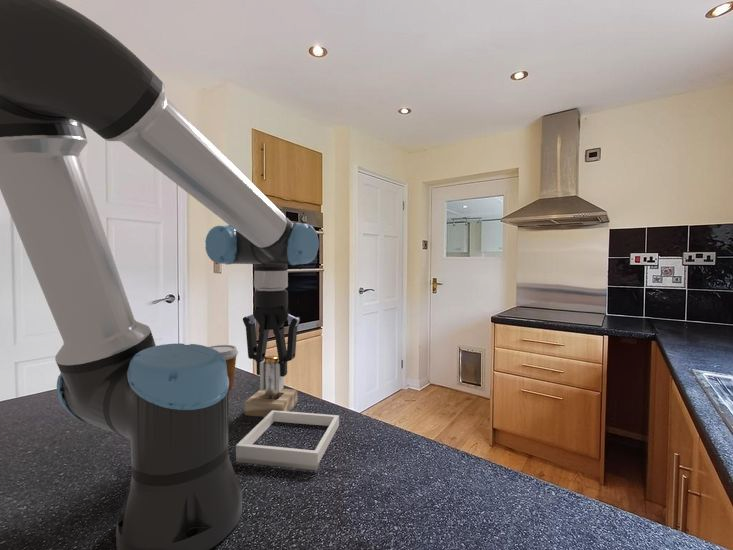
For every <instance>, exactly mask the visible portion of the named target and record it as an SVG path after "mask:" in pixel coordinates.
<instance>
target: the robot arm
mask: <svg viewBox="0 0 733 550" xmlns="http://www.w3.org/2000/svg"><path fill="white" fill-rule="evenodd" d="M165 88H166V87H165V83H164V82H163V80H161V79H160V78H159V76H157V75H156V74H155V72H153V71H152V70H151V69H150V68H149V66H147V65H146V64H145V63H144V61H142V60H141V58H139V57H138V56H137V55H135V53H134V52H133V51H131V49H129V48H128V47H127V46H126V45H124V44H123V43H122V42H121V41H120V40H119V39H118V38H116V37H115V36H113V35H112V34H111V33H110V32H108V31H107V30H105V29H104V28H103V27H102V26H100V24H98V23H96V22H94V21H93V20H91V19H89V18H88V17H87V16H85V15H84V14H82V13H80V12H79V11H77V10H75V9H73V8H72V7H70V6H68V5H66V4H65V3H63V2H61V1H59V0H0V192H1V195H2V197H3V199H4V202H5V205H6V206H7V209H8V212H9V214H10V217H11V218H12V222H13V224H14V226H15V228H16V231H17V233H18V236H19V238H20V240H21V244H22V245H23V248H24V250H25V252H26V255H27V257H28V260H29V261H30V265H31V267H32V269H33V271H34V274H35V277H36V279H37V281H38V284H39V286H40V288H41V291H42V294H43V296H44V298H45V300H46V303H47V305H48V307H49V310H50V312H51V315H52V317H53V320H54V321H55V324H56V327H57V329H58V332H59V335H60V336H61V339H62V341H63V343H62V344H63V345H62V346H61V347H60V349H59V350H58V351H57V353H56V355H55V357H54V359H55V363H56V365H57V367H58V370H59V372H60V374H59V375H58V376H57V380H56V393H57V397H58V400H59V403H60V404H61V406H62V407H63V409H65V410H66V411H67V412H68V413H69V414H70V415H71V416H72V417H74V419H77V420H79V421H80V422H83V423H84V424H88V425H90V426H95V427H98V428H101V429H102V430H106V431H109V432H112V433H114V434H117V435H120V436H123V437H124V438H127V439H129V441H130V463H131V480H130V483H129V486H128V488H127V492H126V494H125V495H126V496H125V497H124V501H123V503H122V504H123V505H122V508H121V511H120V514H119V517H118V519H117V522H116V527H115V539H116V540H115V542H116V543H115V544H116V546H115V547H116V550H211V549H213V548H214V547H215V546H217V545H218V544H220V543H221V542H222V541H224V539H225V538H227V537H228V535H230V534H231V533H232V532H233V530H234V528H236V526H237V525H238V523H239V521H240V519H241V516H242V514H243V513H242V512H243V492H242V488H241V485H240V483H239V481H238V478H237V475H236V472H235V469H234V467H233V463H232V462H231V459H230V456H229V405H230V403H229V402H230V401H229V395H230V394H229V392H230V391H229V378H228V376H227V365H226V361H225V358H224V357H223V355H222V354H221V353H220V352H218V351H217V350H215V349H213V348H210V346H206V345H202V344H197V343H196V344H195V343H190V344H185V343H179V342H178V343H168V344H165V343H164V344H159V345H156V342H155V338H154V336H153V334H152V330H151V328H150V326H149V325H148V324H144V323H142V322H139V321H137V320H136V319H135V318H134V314H133V311H132V309H131V305H130V303H129V300H128V296H127V293H126V291H125V288H124V285H123V282H122V279H121V276H120V273H119V270H118V267H117V264H116V261H115V259H114V256H113V254H112V251H111V247H110V245H109V244H110V243H109V242H108V239H107V235H106V233H105V229H104V226H103V224H102V221H101V218H100V216H99V212H98V209H97V206H96V203H95V200H94V197H93V195H92V191H91V189H90V185H89V182H88V180H87V177H86V174H85V171H84V168H83V166H82V162H81V160H80V158H79V157H80V153H81V152H82V151H83V149H84V148H85V147H86V146H87V144H88V139H87V135H86V133H85V130H84V127H83V125H84V126H86V127H87V128H89V129H91V130H92V131H93V132H94V133H96V134H97V135H98V136H99V137H101V138H102V139H104V140H105V141H107V142H122V143H123V144H124V145H126V146H127V147H128V148H129V149H131V150H132V151H133V152H135V153H136V154H137V155H139V156H140V158H142V159H144V160H145V161H146V162H148V163H149V164H150V165H151V166H153V168H155V169H157V170H158V171H159V172H161V174H163V175H164V176H166V177H167V178H168V179H170V181H172V182H173V183H175V184H176V185H177V186H178V187H180V188H181V189H182V190H184V191H185V192H186V193H187V194H188V195H190V196H191V197H193V198H194V199H195V200H196V201H197V202H199V203H200V204H201V205H203V206H204V207H206V209H208V210H209V211H211V212H212V213H213V214H214V215H216V217H218V218H220V220H222V221H224V222H225V223H226V224H227V225H215V226H213V227H212V228H211V229H210V230H209V231H208V232H207V234H206V237H205V252H206V255H207V257H208V258H209V259H210V260H211V261H212V262H214V263H215V264H220V265H221V264H224V265H253V272H254V276H253V278H254V279H253V281H254V282H253V287H254V289H256V290H255V291H254V301H253V302H254V310H253V312H252V314H251V315H248V316H244V317H243V318H242V322H243V324H244V326H245V335H246V344H247V345H246V346H247V357H248V359H249V360H254V361H255V363H256V375H257V376H259V390H260V391H263V390H265V357H266V353H267V346H268V345H267V344H268V341H269V332H270V330H272V331H273V335H274V338H275V344H276V350H277V356H278V358H279V361H278V362H277V363H276V392H279V391H281V390H282V389H285V388H284V385H285V383H284V382H285V381H284V379H285V378H284V377H286V375H287V374H288V362H290V361H292V360H294V358H296V350H297V338H298V337H297V335H298V326H299V324H300V321H301V317H300V316H297V317H296V316H294V315H291V313H290V309H289V307H288V306H289V292H288V290H287V288H288V287H289V282H288V281H289V277H288V276H289V275H288V274H289V270H288V269H289V268H288V265H290V266H296V265H307V264H310V263H311V262H313V261H315V258H316V257H317V255H318V251H319V247H320V245H319V244H320V243H319V242H320V241H319V237H318V234H317V230H316V229H315V228H314V227H313V226H312V225H310V224H308V223H302V222H296V223H294V222H292V221H291V220H290V219H289V218H288V217H287V216H285V214H284V213H283V212H282V210H280V209H279V208H278V207H277V206H276V205H275V203H273V202H272V201H271V200H270V199H269V198H268V197H267V196H266V195H265V194H264V193H263V192H262V191H261V190H260V189H259V188H258V187H257V186H256V185H255V184H254V183H253V182H252V181H251V180H250V179H249V178H248V177H247V176H246V175H245V174H244V173H243V172H242V171H241V170H240V169H239V168H238V167H237V166H236V165H235V164H233V162H232V161H231V160H230V159H228V157H227V156H225V154H223V153H222V151H221V150H219V148H218V147H217V146H216V145H215V144H213V142H212V141H211V140H210V139H209V138H207V136H206V135H204V134H203V133H202V131H200V130H199V128H198V127H197V126H195V124H193V122H191V121H190V119H189V118H188V117H186V115H185V114H183V112H182V111H181V110H179V109H178V108H177V107H176V105H174V103H172V102H171V101H170V99H169V98H167V96H166V89H165ZM256 322H257V324H258V325H259V326H258V338H257V328H256ZM286 322H287V324H288V332H287V344H286V338H285V337H286V336H285V326H284V325H285V323H286ZM257 339H258V341H257Z"/></svg>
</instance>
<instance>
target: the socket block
mask: <svg viewBox="0 0 733 550" xmlns="http://www.w3.org/2000/svg"><path fill="white" fill-rule="evenodd" d="M297 403H298V389H289V388H283V389H282V390H281V391H279V398H278V399H277V400H273V399H265V390H263V391H260V389H259V390H258V391H256V392H255V393H254V394H252V395H251V396H250V397H249V398H247V399H246V400H244V416H251V417H263V418H265V417H266V416H267V415H268V414H269V413H270V412H271V411H272V410H276V411H288V412H291V410H292V409H293V408H294V406H296V404H297Z"/></svg>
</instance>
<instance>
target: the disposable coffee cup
mask: <svg viewBox="0 0 733 550" xmlns="http://www.w3.org/2000/svg"><path fill="white" fill-rule="evenodd" d="M209 347H210V348H213V349H215V350H217V351H218V352H220V353H221V354H222V355H223V357H224V358H225V361H226V365H227V376H228V378H229V392H230V391H232V390H233V388H234V378H235V370H236V361H237V356H238V354H239V351H238V350H237V347H236V346H235V345H230V344H217V345H211V346H209Z"/></svg>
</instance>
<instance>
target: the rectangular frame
mask: <svg viewBox="0 0 733 550" xmlns="http://www.w3.org/2000/svg"><path fill="white" fill-rule="evenodd" d="M274 422H275V423H276V422H277V423H279V422H280V423H288V424H289V423H291V424H300V425H312V426H326V427H327V429H326V431H325V432H324V434H323V436H322V438H321V439H320V441H319V442H318V444H317V446H316V448H315V449H314V450H313V449H312V450H311V449H304V448H303V449H301V448H294V447H293V448H292V447H282V446H272V445H264V444H263V445H262V444H260V445H259V444H254V443H255V442H256V441H257V440H258V439H259V438H260V437H261V436H262V435H263V434H264V433H265V431H267V429H268V428H269V427H270V426H271V425H272V424H273V423H274ZM339 426H340V415H336V414H325V413H312V412H300V411H299V412H298V411H289V412H288V411H276V410H272V411H271V412H270V413H269V414H268V415H267V416H266V417H263V419H262V420H260V421H259V423H258V424H256V425H255V426H254V427H253V428H252V429H251V430H250V431H249V432H248V433H247V434H246V435H245V436H244V437H243V438H242V439H241V440H240V441H239V442H237V444H236V445H235V463H243V464H251V465H253V464H254V465H259V466H270V467H281V468H289V469H298V470H299V469H300V470H307V471H308V470H310V471H319V469H320V467H321V465H322V463H320V462H321V460H322V458H323V456H324V454H325V453H326V451H327V450H328V446H329V445H330V443H331V441H332V439H333V437H334V436H335V434H336V432H337V430H338V428H339Z"/></svg>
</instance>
